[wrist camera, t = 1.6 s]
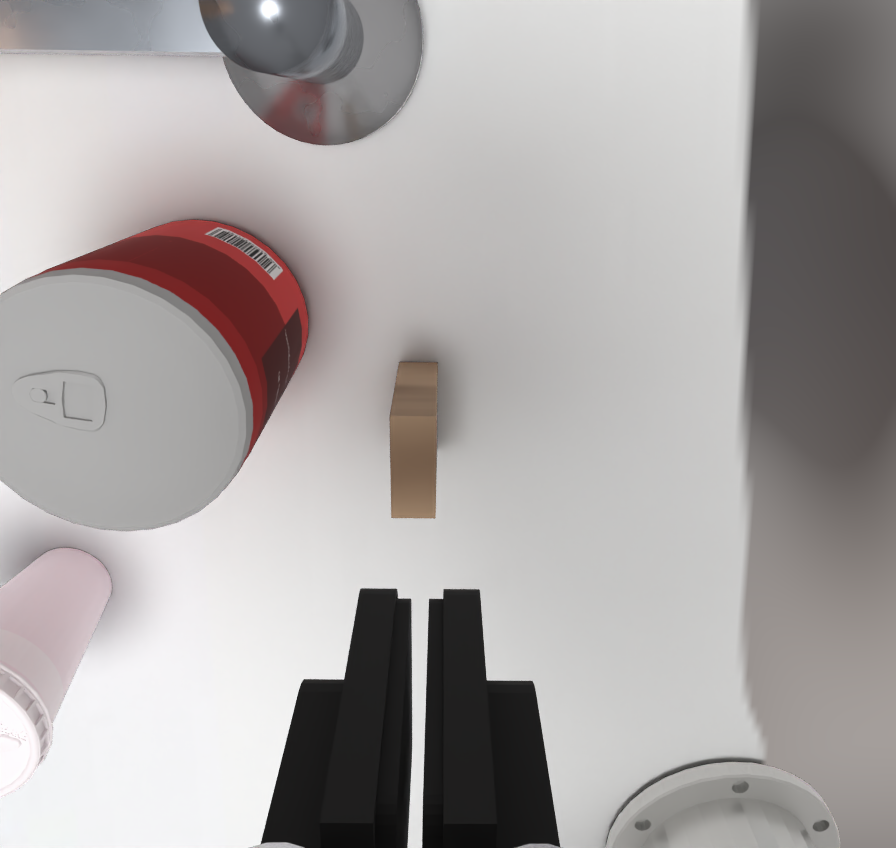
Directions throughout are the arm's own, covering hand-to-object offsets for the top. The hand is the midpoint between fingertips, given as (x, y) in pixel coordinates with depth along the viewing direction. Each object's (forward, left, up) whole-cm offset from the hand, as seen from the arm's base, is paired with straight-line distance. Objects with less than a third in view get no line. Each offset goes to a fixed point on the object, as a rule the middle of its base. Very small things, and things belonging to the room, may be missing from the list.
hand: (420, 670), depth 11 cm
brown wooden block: (-4, +1, -21) cm, 21 cm away
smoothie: (-13, +17, -21) cm, 30 cm away
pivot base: (+10, +4, -21) cm, 24 cm away
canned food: (0, +9, -21) cm, 23 cm away
